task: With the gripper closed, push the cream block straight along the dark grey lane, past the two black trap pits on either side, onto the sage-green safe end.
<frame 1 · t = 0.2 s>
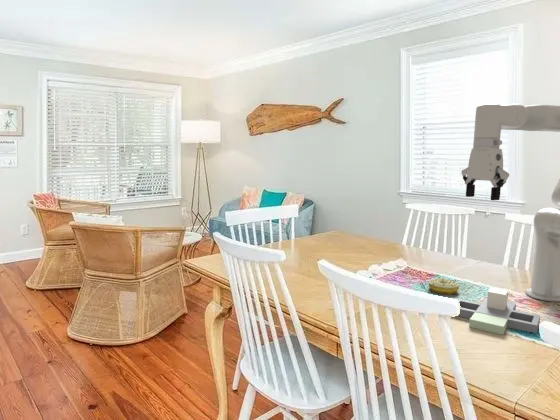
hand: (482, 198, 138), 36 cm above the table, tool pointing down, fingers open, 9 cm apart
decorated donut: (443, 291, 160), on the table
cream block: (496, 306, 137), point 2 cm above the table, touching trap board
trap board: (493, 317, 134), on the table
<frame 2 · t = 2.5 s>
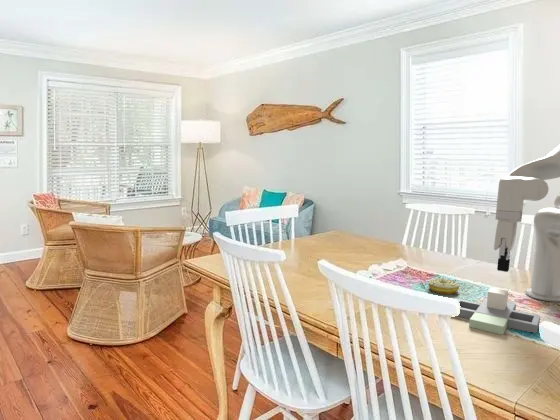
hand: (502, 270, 142), 12 cm above the table, tool pointing down, fingers closed
nothing on the table moved.
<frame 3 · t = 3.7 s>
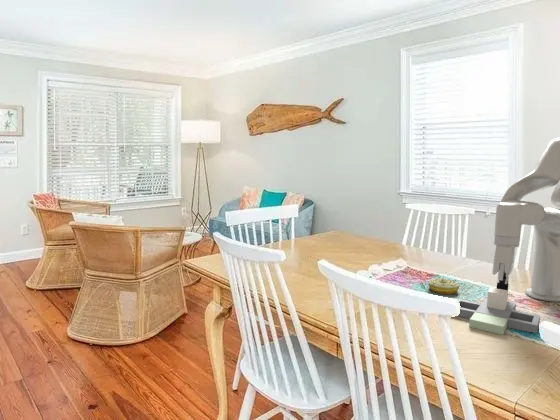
hand: (501, 294, 144), 4 cm above the table, tool pointing down, fingers closed
nothing on the table moved.
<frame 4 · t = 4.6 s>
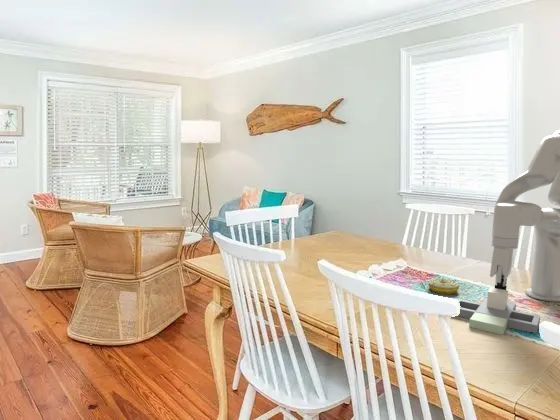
hand: (499, 296, 141), 4 cm above the table, tool pointing down, fingers closed
cream block: (496, 306, 137), point 3 cm above the table, touching gripper, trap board
everything else where it was.
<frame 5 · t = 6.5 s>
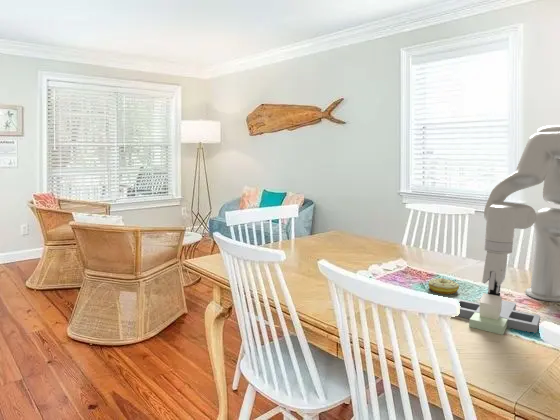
hand: (492, 304, 132), 5 cm above the table, tool pointing down, fingers closed
cream block: (490, 313, 130), point 3 cm above the table, tilted 17°, touching gripper, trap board
everything else where it was.
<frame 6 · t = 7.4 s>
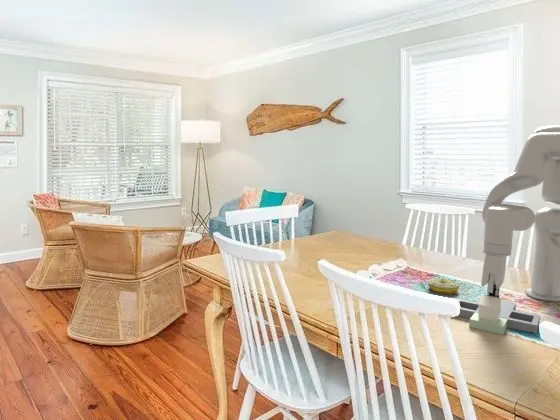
hand: (491, 307, 131), 4 cm above the table, tool pointing down, fingers closed
cream block: (489, 315, 128), point 3 cm above the table, tilted 18°, touching gripper, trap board
everything else where it was.
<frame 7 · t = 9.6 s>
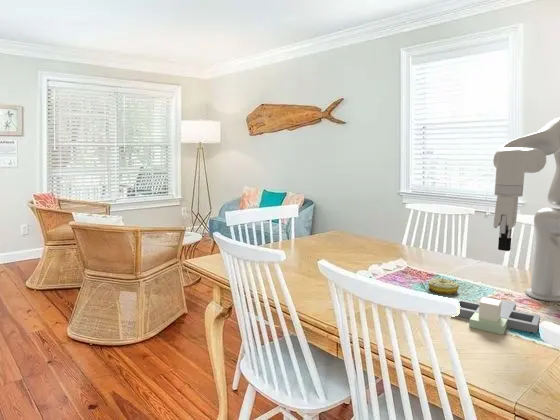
hand: (504, 249, 132), 21 cm above the table, tool pointing down, fingers closed
cream block: (489, 317, 128), point 2 cm above the table, touching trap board
everything else where it was.
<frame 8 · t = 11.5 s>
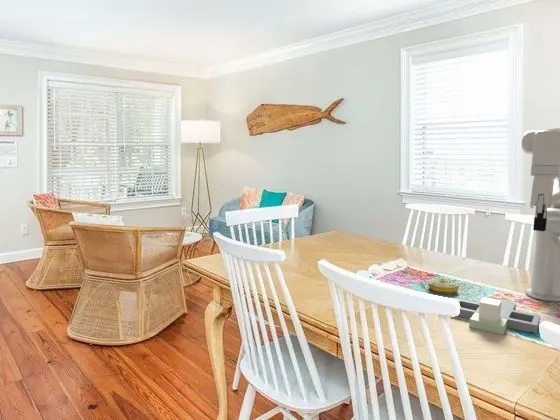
hand: (539, 230, 134), 27 cm above the table, tool pointing down, fingers closed
nothing on the table moved.
at the end: cream block 2.2 cm from the target spot, point 2.5 cm above the table; cream block tilted 1° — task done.
